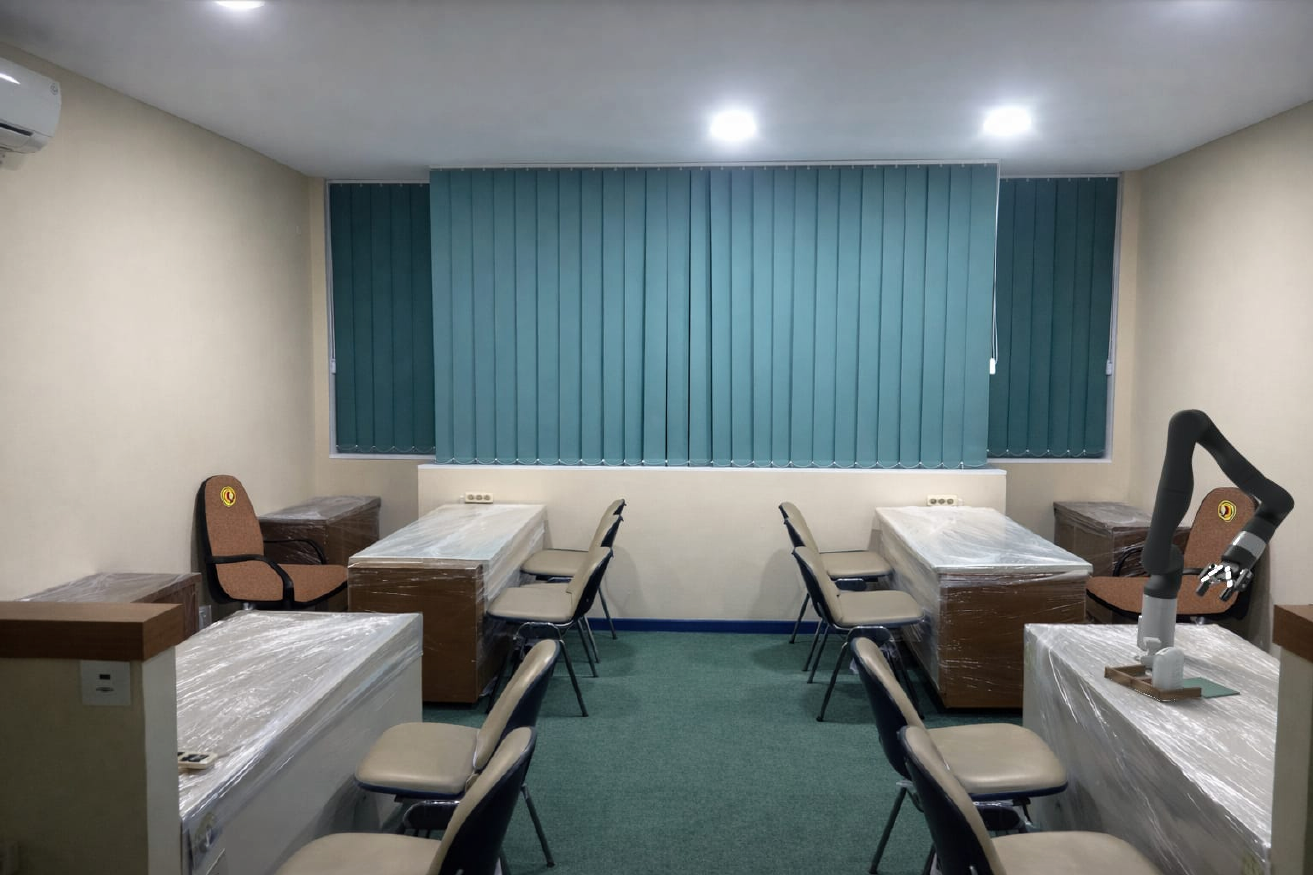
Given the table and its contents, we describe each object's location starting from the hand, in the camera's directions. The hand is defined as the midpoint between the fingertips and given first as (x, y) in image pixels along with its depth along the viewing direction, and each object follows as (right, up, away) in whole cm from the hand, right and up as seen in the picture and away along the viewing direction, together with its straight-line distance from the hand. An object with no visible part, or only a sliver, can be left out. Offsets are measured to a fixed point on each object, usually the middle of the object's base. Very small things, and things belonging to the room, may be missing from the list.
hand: (1210, 597), depth 246 cm
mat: (-3, -24, -2) cm, 25 cm away
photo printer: (-15, -25, -6) cm, 30 cm away
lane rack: (-17, -24, -1) cm, 30 cm away
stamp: (-9, -23, +14) cm, 29 cm away
